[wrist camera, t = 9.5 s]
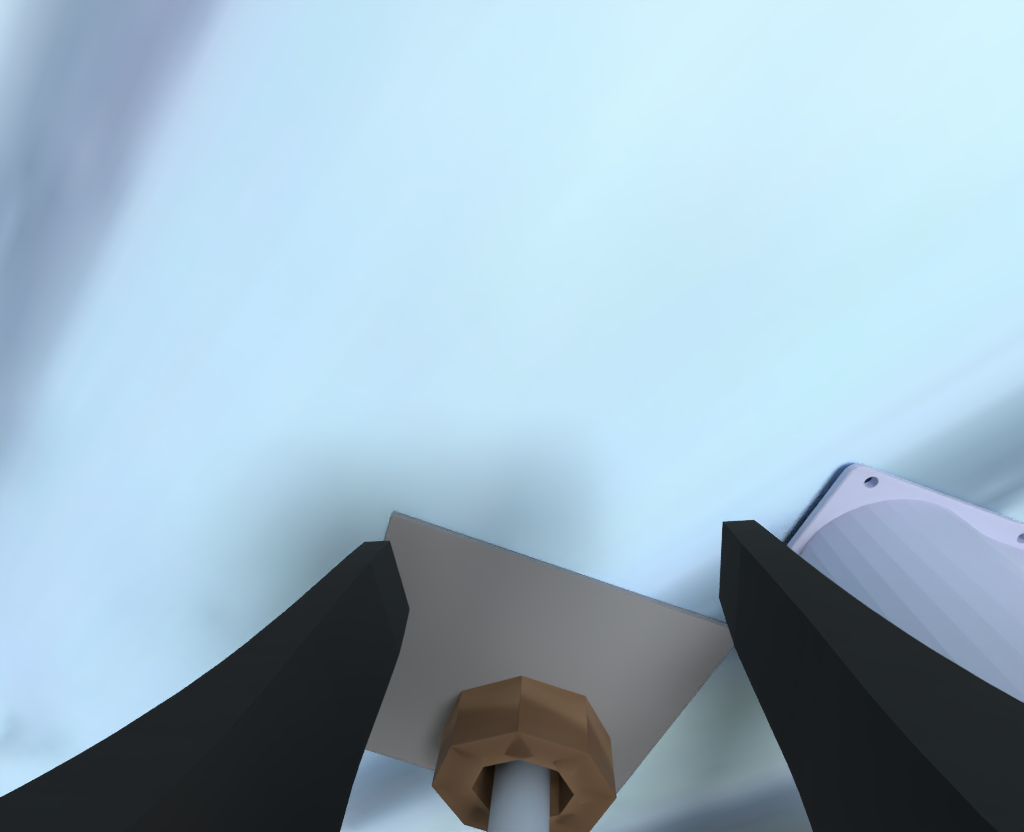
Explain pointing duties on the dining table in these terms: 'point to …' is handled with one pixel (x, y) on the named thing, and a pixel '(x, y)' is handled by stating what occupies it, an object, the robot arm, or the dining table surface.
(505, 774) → the dowel
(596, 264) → the dining table surface
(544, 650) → the mat
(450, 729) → the faceted ring
